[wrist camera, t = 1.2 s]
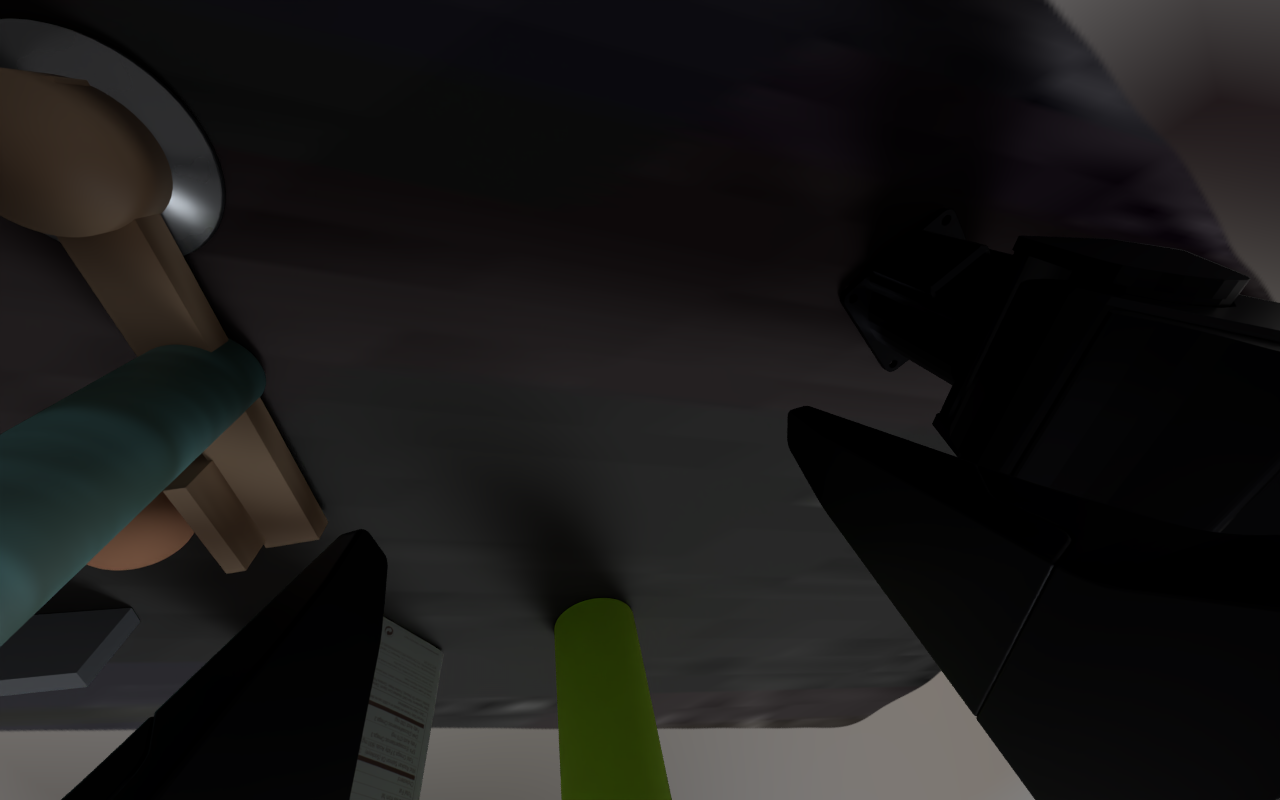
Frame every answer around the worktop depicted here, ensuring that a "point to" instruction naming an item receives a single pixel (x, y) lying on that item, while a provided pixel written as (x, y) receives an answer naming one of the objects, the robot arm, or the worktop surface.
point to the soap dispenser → (605, 707)
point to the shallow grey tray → (62, 649)
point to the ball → (146, 538)
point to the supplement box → (398, 717)
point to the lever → (128, 365)
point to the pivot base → (148, 99)
